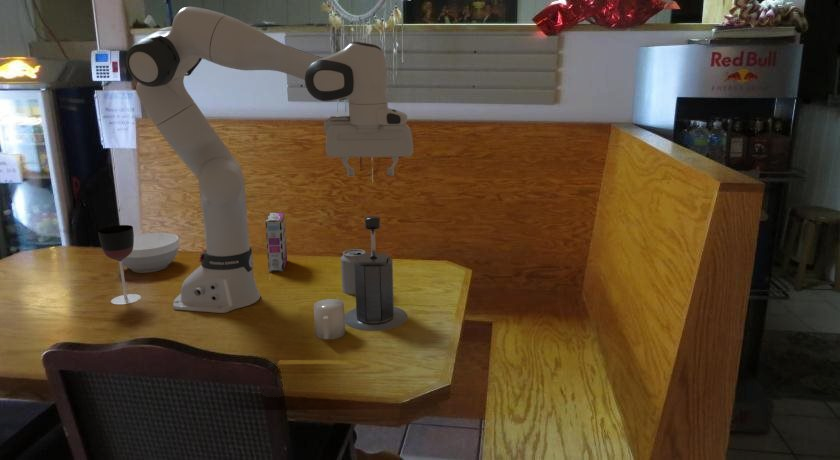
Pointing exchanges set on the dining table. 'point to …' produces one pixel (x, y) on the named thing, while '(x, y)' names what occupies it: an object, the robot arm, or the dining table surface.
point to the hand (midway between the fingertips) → (370, 175)
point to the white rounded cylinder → (329, 319)
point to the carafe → (374, 289)
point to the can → (349, 270)
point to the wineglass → (119, 253)
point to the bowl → (152, 252)
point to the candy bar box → (276, 242)
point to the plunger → (372, 232)
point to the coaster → (352, 321)
